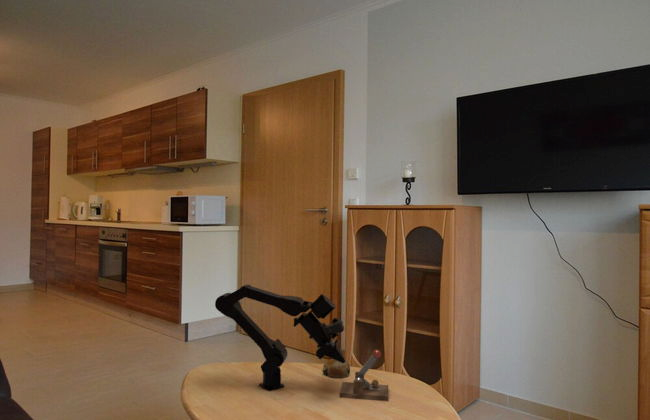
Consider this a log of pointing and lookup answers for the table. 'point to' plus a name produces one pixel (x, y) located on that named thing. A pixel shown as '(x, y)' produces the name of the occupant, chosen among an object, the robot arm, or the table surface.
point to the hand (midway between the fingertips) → (344, 362)
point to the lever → (367, 367)
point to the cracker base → (364, 390)
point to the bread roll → (336, 369)
